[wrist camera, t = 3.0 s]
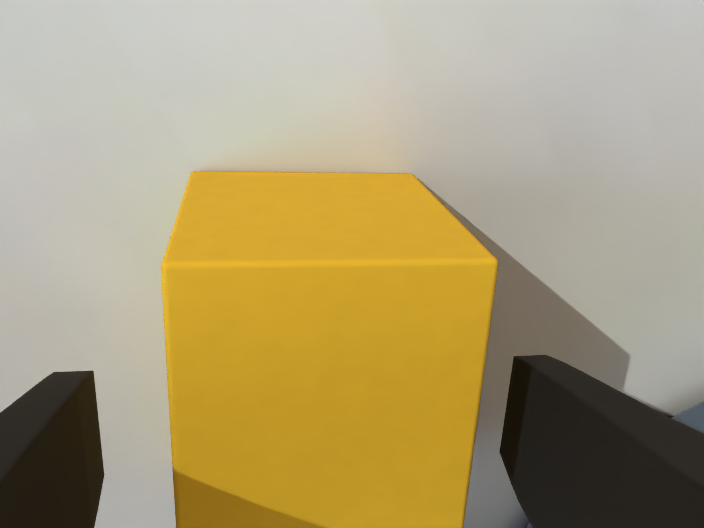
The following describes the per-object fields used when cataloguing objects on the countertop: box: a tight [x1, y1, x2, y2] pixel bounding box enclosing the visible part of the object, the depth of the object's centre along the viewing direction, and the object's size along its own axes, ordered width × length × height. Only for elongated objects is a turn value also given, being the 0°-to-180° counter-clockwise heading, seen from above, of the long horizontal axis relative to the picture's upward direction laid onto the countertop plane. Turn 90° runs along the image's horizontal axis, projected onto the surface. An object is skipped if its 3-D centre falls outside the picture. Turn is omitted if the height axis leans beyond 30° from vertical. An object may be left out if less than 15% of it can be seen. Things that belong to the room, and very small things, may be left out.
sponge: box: [161, 171, 498, 528], centre depth 12 cm, size 4×7×5 cm, turn 178°
